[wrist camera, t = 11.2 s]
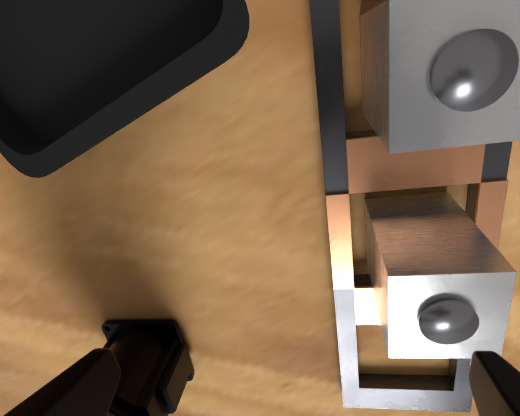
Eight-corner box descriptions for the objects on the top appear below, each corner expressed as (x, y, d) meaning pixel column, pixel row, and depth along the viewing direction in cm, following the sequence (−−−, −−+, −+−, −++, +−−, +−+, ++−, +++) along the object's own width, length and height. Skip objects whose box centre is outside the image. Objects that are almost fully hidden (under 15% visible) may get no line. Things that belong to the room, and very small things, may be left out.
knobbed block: (366, 261, 22) (390, 363, 15) (364, 198, 20) (389, 281, 13) (442, 258, 21) (503, 364, 14) (447, 191, 19) (521, 276, 12)
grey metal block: (362, 112, 18) (390, 156, 11) (359, 16, 16) (391, -3, 9) (455, 100, 17) (550, 140, 10) (463, -4, 15) (586, -41, 8)
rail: (463, 396, 26) (471, 414, 24) (342, 393, 28) (343, 409, 26) (534, -111, 13) (557, -127, 12) (305, -57, 15) (304, -66, 14)
